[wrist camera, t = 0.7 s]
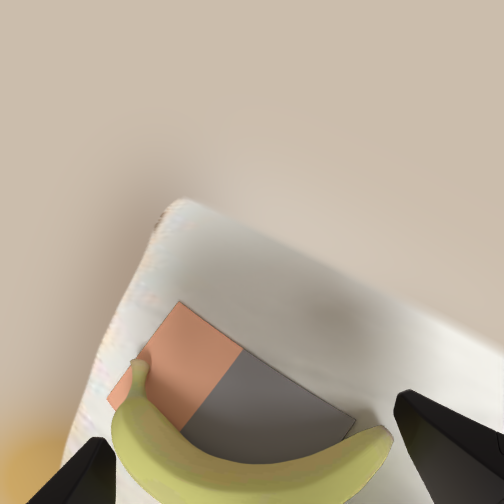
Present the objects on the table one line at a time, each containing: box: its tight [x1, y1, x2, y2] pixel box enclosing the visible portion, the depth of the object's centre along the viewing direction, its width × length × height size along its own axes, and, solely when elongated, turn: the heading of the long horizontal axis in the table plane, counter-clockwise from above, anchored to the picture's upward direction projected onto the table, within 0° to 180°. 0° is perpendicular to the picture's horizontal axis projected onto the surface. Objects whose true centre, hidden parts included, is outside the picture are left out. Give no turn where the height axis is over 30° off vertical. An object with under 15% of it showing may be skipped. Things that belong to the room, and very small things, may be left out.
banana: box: [111, 359, 394, 504], centre depth 18 cm, size 14×6×20 cm
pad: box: [107, 302, 243, 432], centre depth 24 cm, size 8×12×1 cm, turn 142°
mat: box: [180, 349, 356, 464], centre depth 18 cm, size 10×12×1 cm
